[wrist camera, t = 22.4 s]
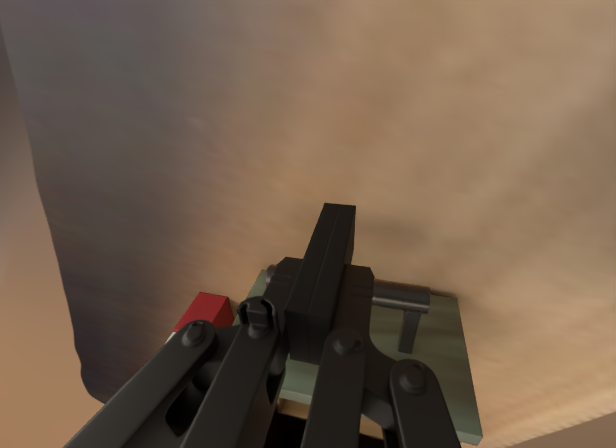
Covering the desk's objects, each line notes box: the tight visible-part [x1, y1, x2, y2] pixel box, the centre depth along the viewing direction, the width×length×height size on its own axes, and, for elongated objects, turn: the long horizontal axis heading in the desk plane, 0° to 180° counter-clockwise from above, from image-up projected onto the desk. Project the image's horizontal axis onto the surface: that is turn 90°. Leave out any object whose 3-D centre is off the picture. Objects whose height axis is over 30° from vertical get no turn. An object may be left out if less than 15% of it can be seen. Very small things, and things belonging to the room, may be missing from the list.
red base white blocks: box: [166, 292, 234, 342], centre depth 33 cm, size 7×3×6 cm, turn 3°
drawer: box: [232, 265, 483, 446], centre depth 26 cm, size 24×17×10 cm
